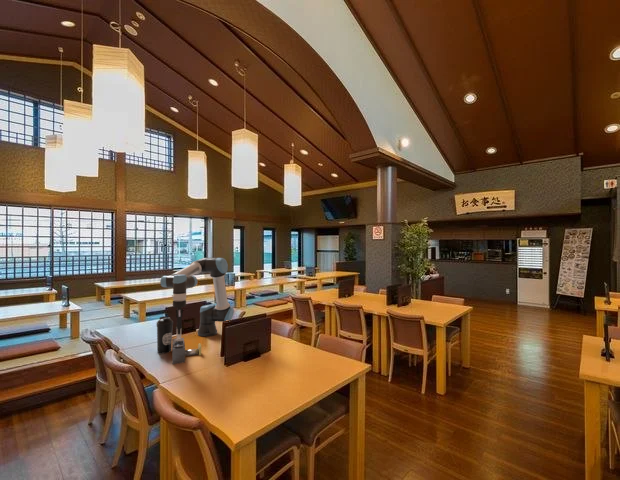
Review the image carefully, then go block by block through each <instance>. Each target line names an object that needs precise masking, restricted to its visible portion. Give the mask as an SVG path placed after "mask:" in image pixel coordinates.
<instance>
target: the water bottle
mask: <svg viewBox="0 0 620 480" xmlns="http://www.w3.org/2000/svg"><path fill="white" fill-rule="evenodd" d="M173 325H174V321H173V320H172V319H171V317H169V316H168V317H167V316H166V315H165V316H160V317H159V319H158V320H157V322H156V339H157V346H156V347H157V353H158V354H160V353H164V354H167V353H168V354H169V353H172V339H173Z"/></svg>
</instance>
